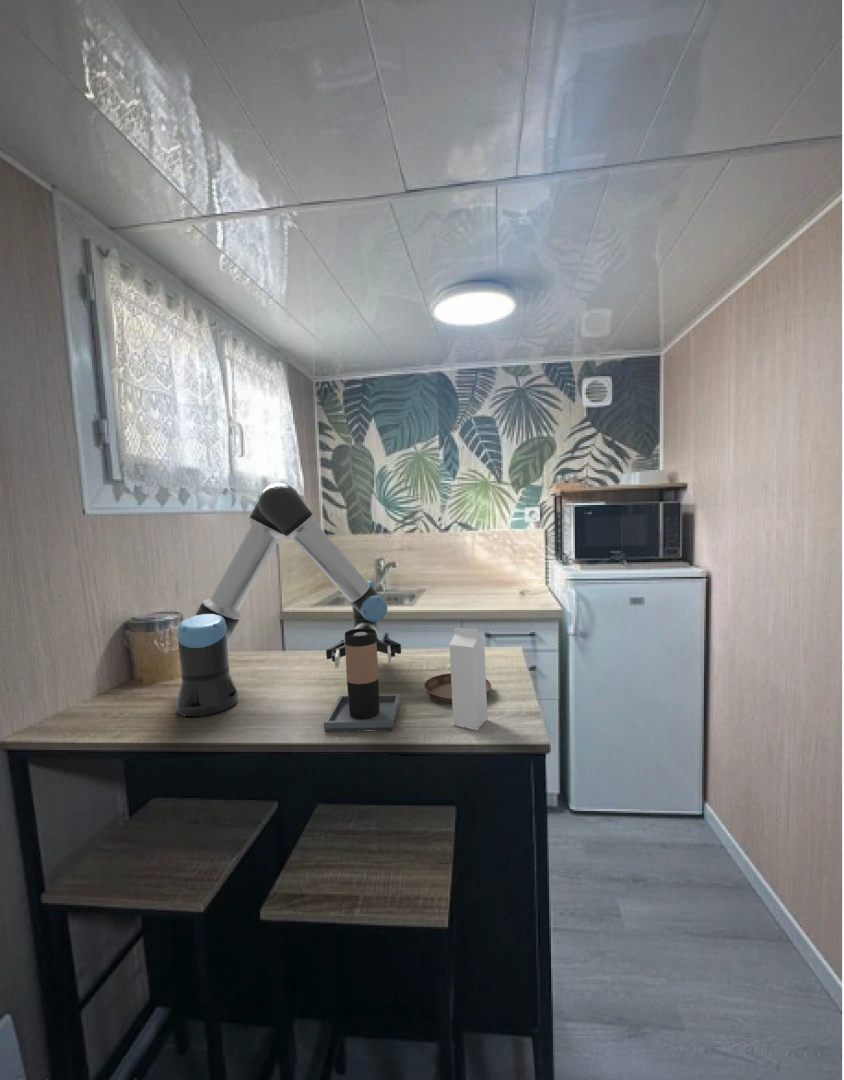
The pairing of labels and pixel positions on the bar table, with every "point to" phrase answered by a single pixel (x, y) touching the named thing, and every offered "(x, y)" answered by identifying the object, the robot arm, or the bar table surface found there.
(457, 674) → the milk
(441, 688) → the plant saucer
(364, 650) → the travel mug
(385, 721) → the tray
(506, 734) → the bar table surface
